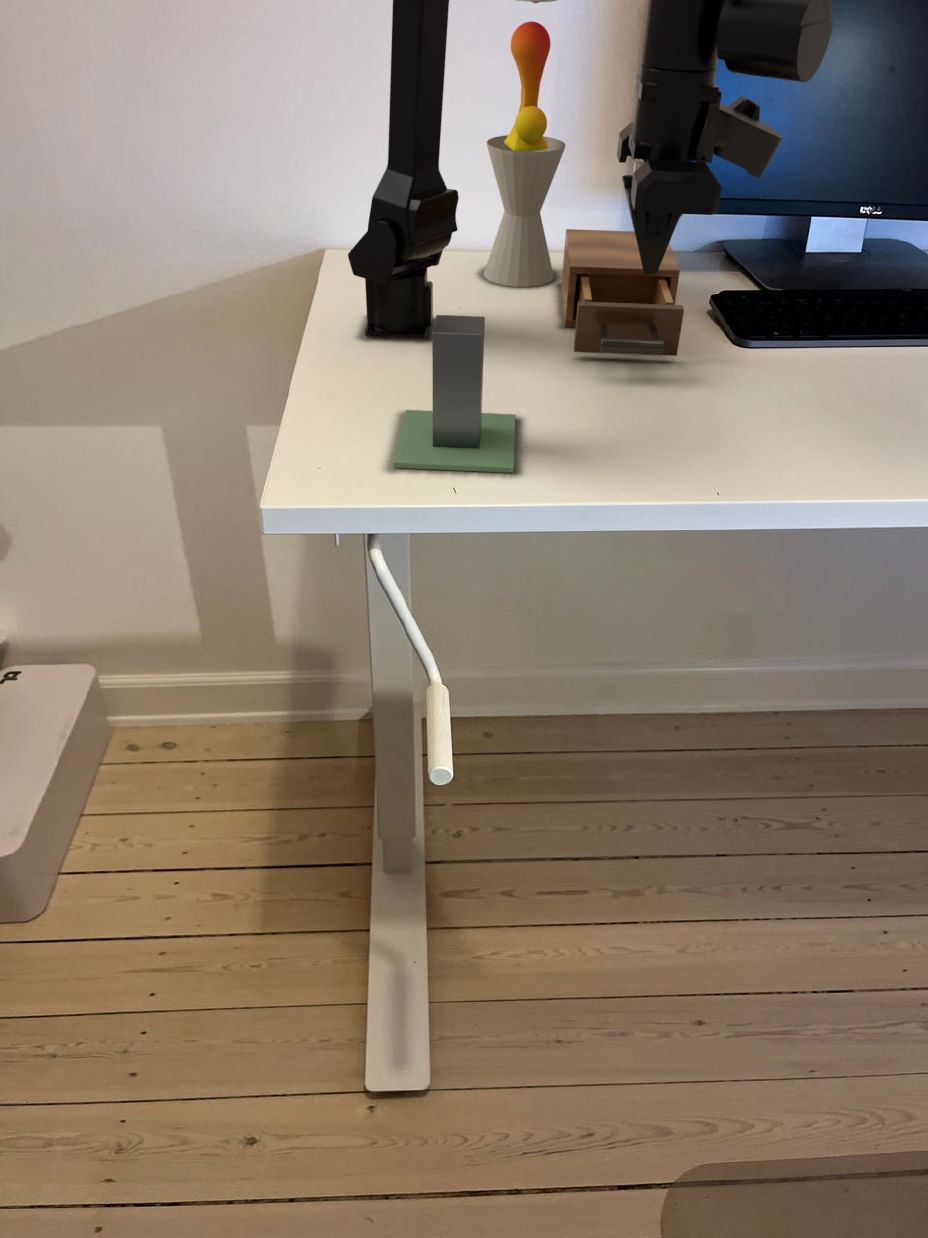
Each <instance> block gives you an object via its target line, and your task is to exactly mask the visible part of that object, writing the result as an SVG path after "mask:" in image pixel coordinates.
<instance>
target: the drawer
mask: <svg viewBox="0 0 928 1238" xmlns="http://www.w3.org/2000/svg"><path fill="white" fill-rule="evenodd" d="M673 303H674V302H673V299H672V297H671V294H670V291H669V288H668V285H667V282H666V279H665V277H653V276H625V275H598V274H579V284H578V295H577V317H576V327H574V328H575V330H574V339H573V352H574V353H596V354H597V353H598V354H617V355H646V356H647V355H648V356H669V357H670V356H671V357H673V356H674V357H677V356H678V351H679V350H678V349H679V343H680V337H681V331H682V326H683V318H684V313H685V308H684V306H683V305H682V304H675V305H673Z"/></svg>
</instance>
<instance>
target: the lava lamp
mask: <svg viewBox="0 0 928 1238" xmlns="http://www.w3.org/2000/svg"><path fill="white" fill-rule="evenodd" d="M517 1H518V2H528V3H533V4H539V3H549V2H556V1H558V0H516V2H517ZM550 51H551V37H550V34H549V32H548V30H547V29H546V27H545V26H544V25H543V24H541V23H539V22H537V21H532V20H531V21H526V22H523V23H521V24H520V25H519V26H518V27H516V29H515V30H514V32H513V33H512V35H511V39H510V52H511V55H512V57H513V60H514V62H515V64H516V65H515V66H516V68H517V70H518V75H519V81H520V104H519V109H518V112H517V115H516V117H515V119H514V124H513V126H512V128H511V130H510V131H509V133H508V134H505V135H497V136H494V137H491V138H488V140H487V141H486V147H487V151H488V155H489V158H490V162H491V165H492V166H491V167H492V169H493V170H492V171H493V173H494V177H495V180H496V183H497V189H498V192H499V195H500V199H501V203H502V207H503V210H504V211H503V214H502V218H501V220H500V224H499V226H498V229H497V232H496V235H495V239H494V241H493V245H492V248H491V250H490V253H489V257H488V259H487V263H486V265H485V269H484V272H483V276H484V278H485V279H486V280H488V281H489V282H491V283H495V284H497V285H502V286H505V287H513V288H514V287H516V288H531V287H538V286H542V285H546V284H548V283H550V282H551V281H553V280H554V277H555V274H554V271H553V266H552V262H551V257H550V252H549V248H548V243H547V237H546V234H545V227H544V224H543V220H542V215H541V210H542V208H543V206H544V204H545V200H546V198H547V195H548V193H549V191H550V188H551V185H552V183H553V180H554V177H555V176H556V173H557V170H558V167H559V165H560V162H561V159H562V157H563V154H564V152H565V148H566V143H565V142H564V141H563V140H560V139H557V138H554V137H549V136H545V133H546V130H547V127H548V119H547V116H546V113H545V112H544V111H543V110H542V109H541V108H539V104H538V103H539V94H540V87H541V82H542V77H543V73H544V69H545V66H546V63H547V60H548V58H549V57H548V56H549V54H550Z"/></svg>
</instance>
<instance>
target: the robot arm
mask: <svg viewBox="0 0 928 1238" xmlns="http://www.w3.org/2000/svg"><path fill="white" fill-rule="evenodd" d="M449 7H450V0H392V10H391V11H392V16H391V20H392V21H391V47H390V82H389V84H390V85H389V113H388V117H389V118H388V145H387V149H388V150H387V153H388V154H387V165H386V168H385V171H384V173H383V174H382V177H381V179H380V180H379V182H378V184H377V186H376V189H375V190H374V193H373V195H372V198H371V203H370V209H369V216H368V222H367V231H366V232H365V233H364V235H362V237H361V238H360V239H359V240H358V241H357V242H356V244H355V245H354V246H353V248H351V249H350V251H349V252H348V253H347V258H348V262H349V265H350V269H351V272H352V275H353V276H356V277H357V278H358V277H359V278H362V279H364V282H365V283H364V284H365V303H366V304H365V305H366V325H365V328H364V336H365V337H368V338H370V337H371V338H391V339H392V338H395V339H396V338H397V339H418V340H420V339H422V340H423V339H425V338H426V336H427V332H428V329H430V328H431V327H432V324H433V318H434V307H433V306H434V282H432V281H431V280H428V268H430V267H437V266H438V265H439V264H440V262H441V258H442V254H443V251H444V249H445V248H446V247H448V246H449V245H450V243H451V240H452V236H453V233H455V232H458V230H459V229H458V224H457V209H458V204H459V199H460V198H459V191H458V190H457V189H452V188H448V187H447V185H446V183H445V180H444V178H443V176H442V173H441V171H440V151H441V135H442V119H443V104H444V87H445V86H444V85H445V73H446V72H445V70H446V57H447V55H446V54H447V42H448V40H447V39H448V27H449V26H448V25H449V9H450V8H449ZM832 11H833V0H648V3H647V11H646V12H647V13H646V19H645V29H644V36H643V44H642V45H643V46H642V53H641V61H640V62H641V63H640V69H639V74H636V77H635V86H634V89H635V92H636V94H637V95H636V96H637V97H636V104H635V112H634V119H633V121H630V122H629V123H628V124H627V125H626V126H625V127H623V129H622V130H620V132H619V133H618V140H617V141H618V142H617V149H616V151H617V152H616V157H617V161H618V163H622V164H623V163H624V164H625V163H627V159H628V157H631V160H632V162H633V168H632V169H633V171H632V174H625V175H622V176H621V180H622V184H623V188H624V194H625V197H626V202H627V207H628V211H629V215H630V219H631V223H632V224H631V225H632V228H633V231H634V232H635V236H636V241H637V245H638V250H639V254H640V258H641V263H642V267H643V271H644V273H645V274H656V273H657V272H658V270H659V267H660V265H661V262H662V260H663V257H664V255H665V252H666V250H667V247H668V245H669V243H670V242H671V239H672V237H673V234H674V232H675V229H676V228H677V226H678V223H679V221H680V218H681V217H682V216H683V215H698V216H699V215H701V216H712V215H713V216H714V215H716V214H718V212H719V207H720V200H721V195H722V190H723V186H722V184H721V183H720V181H719V179H718V178H717V177H716V175H715V174H714V172H713V171H712V169H711V168H710V167H709V166H708V164H713V163H712V162H713V158H714V157H713V156H716V157H718V158H720V159H722V160H724V161H727V162H729V163H730V164H733V165H735V166H738V167H740V168H742V169H744V170H746V174H748V175H750V176H752V177H755V178H758V179H761V178H762V177H763V175H764V173H765V171H766V169H767V168H768V166H769V164H770V162H771V160H772V159H773V157H774V155H775V153H776V151H777V150H778V148H779V146H780V144H781V142H782V140H783V137H782V136H781V135H780V134H779V133H778V132H777V131H776V130H775V129H774V128H773V127H771V126H769V125H768V123H766V122H764V121H760V113H761V106H760V105H759V104H758V103H757V101H754V100H752V99H750V98H748V97H745V96H744V95H740V96H739V97H737V98H736V99H735V100H734V101H733V102H731V103H730V104H729V105H727V104H725V103H721V101H722V91H721V90H720V87H719V86H718V85H717V84H716V82H715V81H716V75H717V70H718V63H719V60H720V61H724V62H723V63H724V65H725V67H726V69H727V71H728V72H729V73H732V74H737V75H746V76H752V77H759V78H767V79H768V78H769V79H774V80H775V79H777V80H782V81H791V82H799V83H808V82H809V81H810V80H811V79H813V77H814V76H815V74H817V72H818V70H819V68H820V67H821V65H822V62H823V60H824V58H825V55H826V52H827V49H828V46H829V44H830V40H831V36H832V31H833V27H834V20H832V13H833V12H832Z"/></svg>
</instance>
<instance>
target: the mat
mask: <svg viewBox="0 0 928 1238" xmlns="http://www.w3.org/2000/svg"><path fill="white" fill-rule="evenodd" d="M515 444H516V414H514V413H513V414H511V413H492V412H491V413H490V412H482V420H481V436H480V447H479V448H457V447H434V446H433V410H419V409H418V410H417V409H416V410H415V409H405V410H404V415H403V420H402V424H401V427H400V433H399V436H398V442H397V446H396V451H395V455H394V459H393V468H394V469H395V468H396V469H416V470H417V469H418V470H439V471H440V470H441V471H462V472H463V471H464V472H486V473H506V474H507V473H508V474H510V473H511V474H513V473H514V472H515V452H516V451H515V449H516V447H515Z"/></svg>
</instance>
